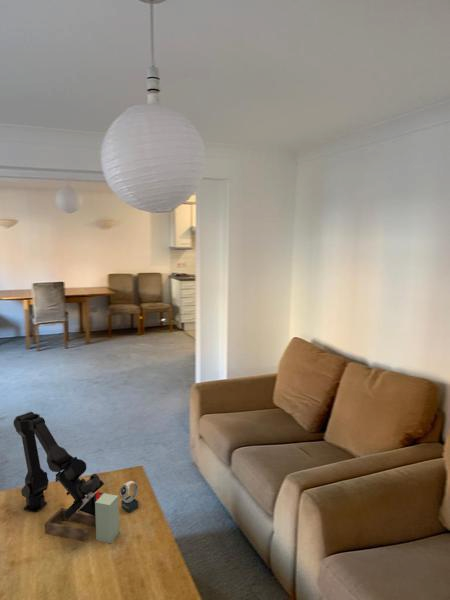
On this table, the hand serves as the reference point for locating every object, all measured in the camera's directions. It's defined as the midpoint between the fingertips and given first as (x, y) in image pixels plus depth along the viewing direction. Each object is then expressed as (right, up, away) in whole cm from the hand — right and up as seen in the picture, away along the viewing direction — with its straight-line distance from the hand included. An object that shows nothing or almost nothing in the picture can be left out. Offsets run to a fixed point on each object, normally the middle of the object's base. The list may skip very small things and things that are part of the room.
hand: (99, 516), depth 159 cm
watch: (+7, -6, +18) cm, 20 cm away
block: (+3, -8, 0) cm, 8 cm away
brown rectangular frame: (-11, -7, +4) cm, 14 cm away
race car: (-8, -5, +22) cm, 24 cm away
